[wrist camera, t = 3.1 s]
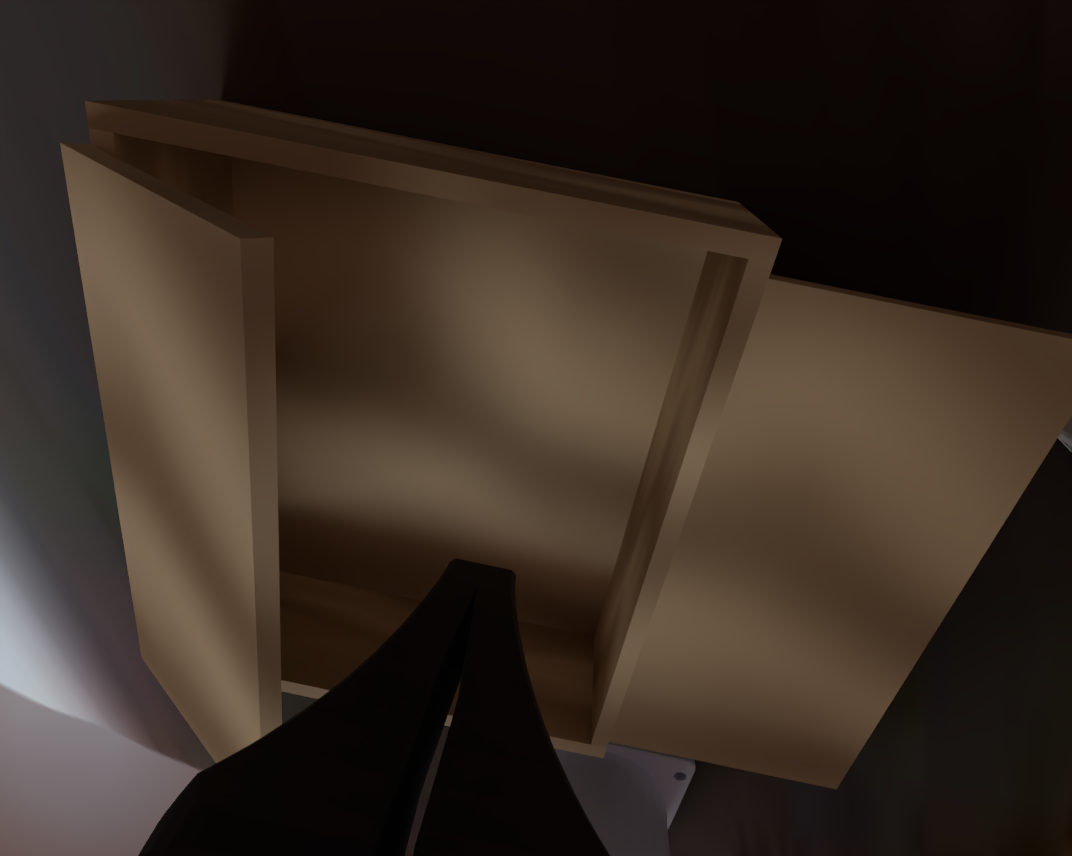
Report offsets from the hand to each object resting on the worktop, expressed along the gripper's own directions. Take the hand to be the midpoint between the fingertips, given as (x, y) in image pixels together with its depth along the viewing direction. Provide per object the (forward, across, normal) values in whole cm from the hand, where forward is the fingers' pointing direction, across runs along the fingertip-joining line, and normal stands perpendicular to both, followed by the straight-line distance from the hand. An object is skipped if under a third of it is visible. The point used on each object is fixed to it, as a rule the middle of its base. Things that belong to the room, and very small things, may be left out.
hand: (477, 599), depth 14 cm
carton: (+8, -1, 0) cm, 8 cm away
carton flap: (+1, +7, 0) cm, 7 cm away
